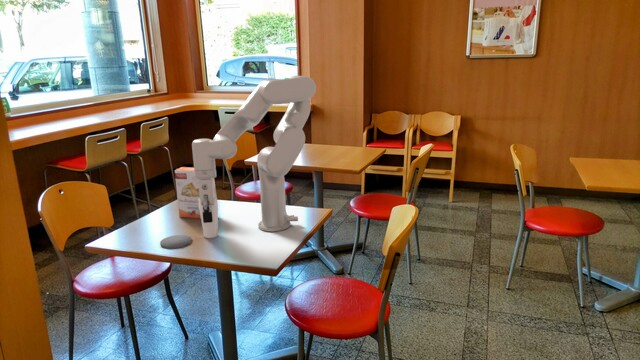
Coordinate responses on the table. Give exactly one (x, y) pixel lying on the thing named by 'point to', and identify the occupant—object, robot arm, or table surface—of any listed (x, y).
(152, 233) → the table surface
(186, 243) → the coaster
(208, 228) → the drinking glass
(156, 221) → the table surface
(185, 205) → the cracker box
